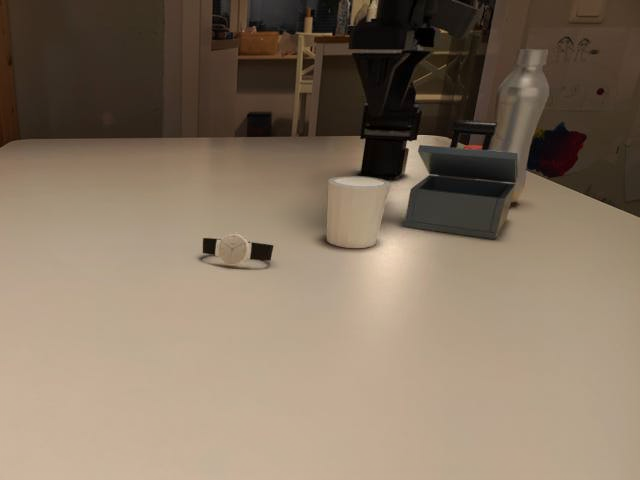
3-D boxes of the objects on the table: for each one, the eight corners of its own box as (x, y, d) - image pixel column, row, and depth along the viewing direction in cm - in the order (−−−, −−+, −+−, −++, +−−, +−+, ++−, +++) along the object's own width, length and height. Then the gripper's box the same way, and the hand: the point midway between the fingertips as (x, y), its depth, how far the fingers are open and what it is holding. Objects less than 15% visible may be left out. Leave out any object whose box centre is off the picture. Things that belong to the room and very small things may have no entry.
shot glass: (384, 236, 75) (394, 177, 71) (376, 252, 69) (387, 189, 66) (327, 230, 77) (334, 173, 74) (315, 245, 72) (322, 184, 68)
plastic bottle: (508, 197, 92) (546, 48, 83) (527, 208, 87) (571, 49, 77) (464, 196, 93) (497, 49, 84) (480, 207, 87) (517, 49, 78)
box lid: (515, 159, 69) (527, 118, 69) (417, 151, 74) (427, 113, 74) (515, 183, 79) (526, 147, 78) (429, 174, 84) (438, 141, 83)
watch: (195, 263, 66) (196, 230, 64) (209, 250, 70) (210, 219, 68) (266, 272, 63) (269, 238, 62) (276, 258, 67) (279, 226, 66)
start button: (482, 160, 103) (485, 149, 102) (459, 158, 105) (462, 147, 104) (486, 156, 106) (488, 146, 105) (463, 155, 108) (466, 144, 107)
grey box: (494, 239, 73) (505, 199, 71) (403, 226, 79) (410, 188, 76) (506, 220, 81) (515, 183, 79) (422, 209, 86) (429, 174, 84)
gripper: (470, -45, 60) (437, 125, 67) (497, -30, 74) (467, 109, 81) (357, -38, 65) (338, 119, 73) (401, -26, 79) (381, 105, 86)
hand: (386, 112), depth 78 cm, fingers open, 9 cm apart
